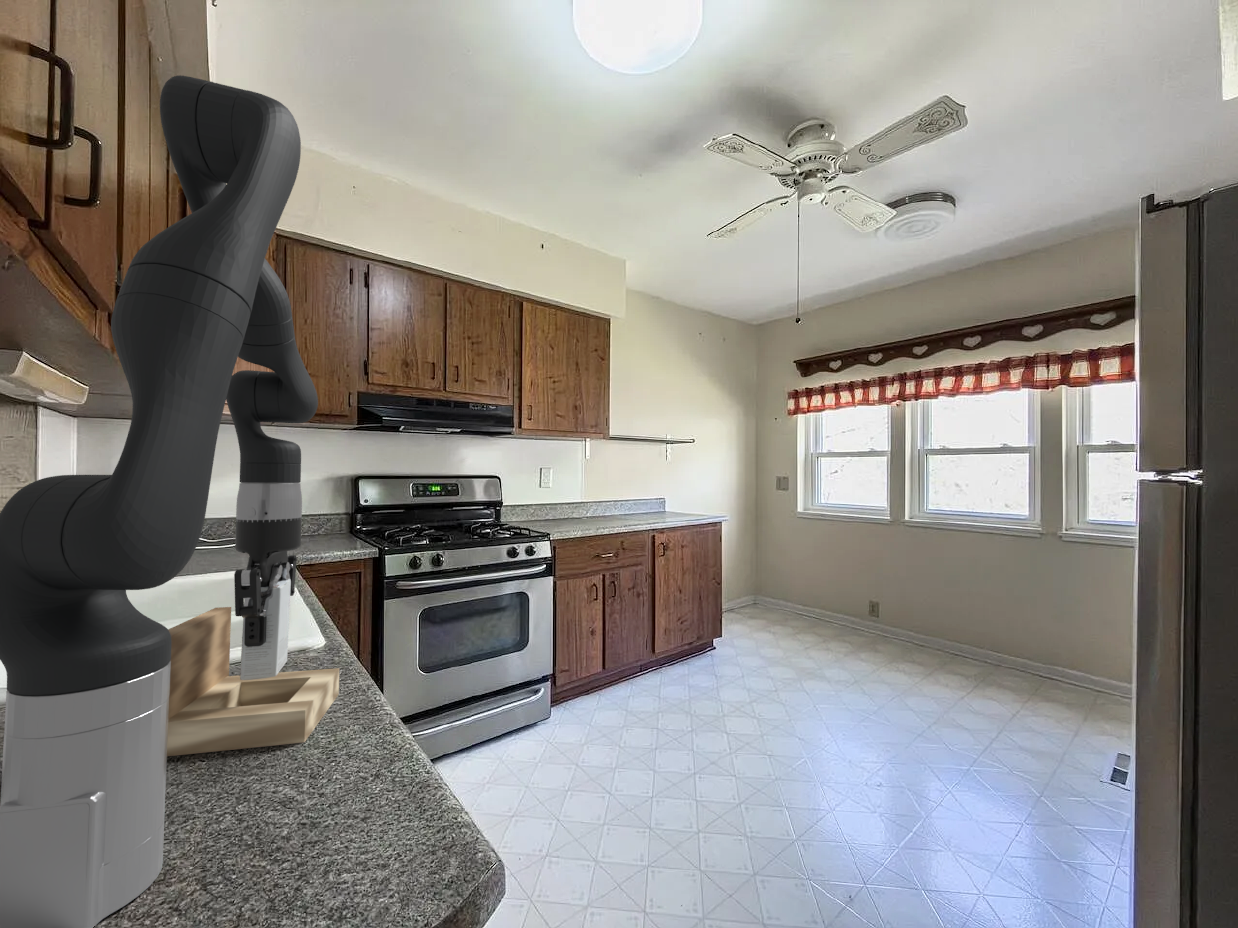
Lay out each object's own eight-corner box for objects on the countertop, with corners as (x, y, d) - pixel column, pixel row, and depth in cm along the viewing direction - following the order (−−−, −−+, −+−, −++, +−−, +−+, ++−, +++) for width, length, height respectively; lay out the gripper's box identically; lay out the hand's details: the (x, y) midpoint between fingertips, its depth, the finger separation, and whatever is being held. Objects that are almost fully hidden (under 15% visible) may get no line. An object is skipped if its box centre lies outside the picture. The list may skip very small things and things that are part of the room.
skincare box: (252, 666, 72) (255, 579, 73) (289, 662, 74) (291, 577, 74) (238, 682, 67) (241, 588, 67) (278, 677, 68) (281, 585, 69)
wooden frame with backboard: (303, 744, 64) (306, 630, 65) (140, 760, 60) (145, 639, 61) (339, 693, 80) (342, 602, 80) (212, 703, 76) (215, 607, 76)
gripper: (279, 519, 65) (275, 653, 65) (317, 512, 79) (314, 622, 78) (210, 520, 63) (206, 657, 63) (261, 512, 77) (258, 625, 77)
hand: (266, 637), depth 71 cm, fingers closed on skincare box, 6 cm apart
